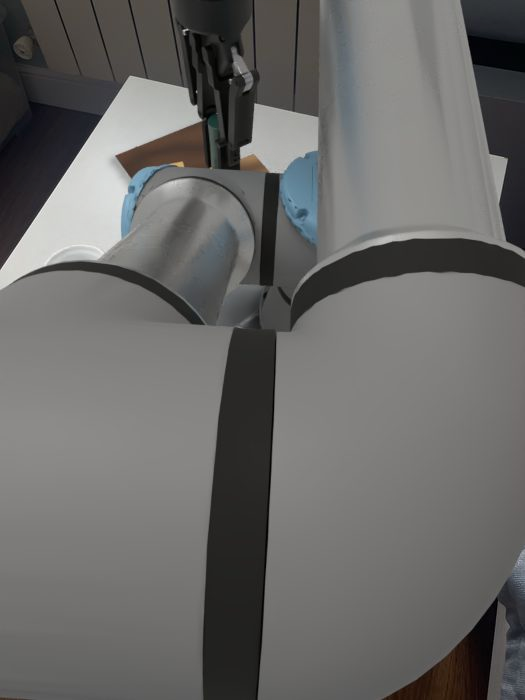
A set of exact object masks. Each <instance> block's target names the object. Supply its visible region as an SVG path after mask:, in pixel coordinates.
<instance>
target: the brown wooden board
mask: <svg viewBox="0 0 525 700" xmlns="http://www.w3.org/2000/svg"><path fill="white" fill-rule="evenodd" d="M114 157H115V158H116V160H117V161H118V162H119V164H120V165H121V167H122V168H123V169H124V171H125V173H126V174H127V175H128V177H129V178H130V179H131V180H132V178H133V177H134V175H135V174H136V173H137V172H139V171H140V170H142V169H143V168H146V167H154V166H161V165H166V164H173V163H177V162H183V164H184V167H192V168H208V167H207V166H206V163H205V152H204V142H203V131H202V120H200V121H198V122H195V123H193V124H189V125H187V126H186V127H183V128H180V129H178V130H176V131H173V132H170V133H168V134H165V135H163V136H161V137H158V138H156V139H152V140H151V141H148V142H146V143H143V144H140V145H138V146H136V147H133V148H131V149H128V150H126V151H123V152H121V153H118V154H115V155H114ZM210 168H211V167H210ZM210 168H208V169H210Z"/></svg>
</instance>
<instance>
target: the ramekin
mask: <svg viewBox="0 0 525 700" xmlns="http://www.w3.org/2000/svg"><path fill="white" fill-rule="evenodd" d="M105 253H106V252H105V251H103V250H102V249H101V248H99V247H97V246H95V245H91V244H86V243H76V244H71V245H68V246H64V247H61V248H59V249H58V250H57V251H54V253H52V254H51V255H50V256H48V258H47V259H46V261H44V264H43V265H42V267H44V266H46V265H50V264H55V263H59V262H64V261H73V260H98V259H99V258H100V257H101V256H102V255H104V254H105Z"/></svg>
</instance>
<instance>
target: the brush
mask: <svg viewBox="0 0 525 700" xmlns="http://www.w3.org/2000/svg"><path fill="white" fill-rule="evenodd" d="M208 130H209V142H210V154H211V167H212V169H218V156H217V146H216V143H215V140H216V139H218V138H220V132H219V124H218V117H217V113H216V114H214V115H212V116H210V117H209V119H208ZM240 170H242V171H258V172H266V173H270V171H269V169H268V168H267V167H266V166H265V165H264V163H263V162H261V160H260V159H259V158H258V157H257V156H256V155H255V154H254V153H252V154H250V155H248V156H245V157H242V158H240Z"/></svg>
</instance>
